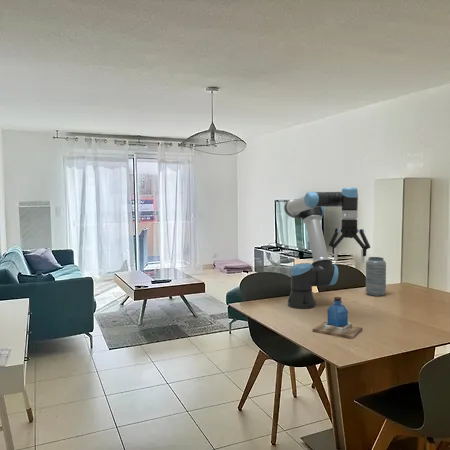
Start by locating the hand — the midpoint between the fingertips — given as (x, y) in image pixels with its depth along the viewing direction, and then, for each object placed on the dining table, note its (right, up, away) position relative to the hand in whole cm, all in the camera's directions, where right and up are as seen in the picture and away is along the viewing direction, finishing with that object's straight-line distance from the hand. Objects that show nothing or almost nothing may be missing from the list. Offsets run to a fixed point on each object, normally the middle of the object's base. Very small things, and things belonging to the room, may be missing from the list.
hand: (348, 261), depth 206 cm
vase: (+32, -25, +51) cm, 65 cm away
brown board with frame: (-11, -30, -19) cm, 37 cm away
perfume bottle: (-11, -27, -20) cm, 35 cm away
